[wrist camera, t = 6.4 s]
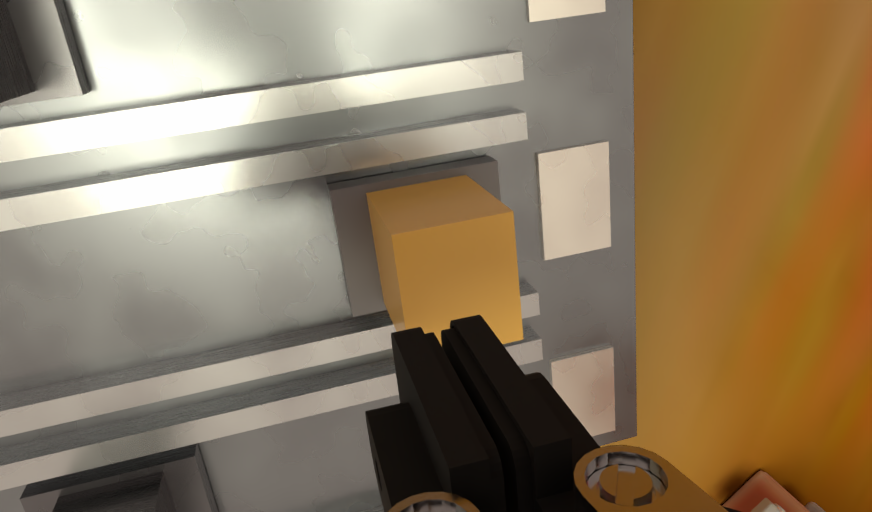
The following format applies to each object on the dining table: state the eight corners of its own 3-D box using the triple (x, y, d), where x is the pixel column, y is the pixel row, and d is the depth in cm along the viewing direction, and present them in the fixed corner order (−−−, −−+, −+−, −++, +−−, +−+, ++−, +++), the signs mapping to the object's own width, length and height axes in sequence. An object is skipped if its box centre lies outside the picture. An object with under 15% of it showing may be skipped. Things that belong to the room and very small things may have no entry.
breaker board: (-446, -84, 15) (-944, -153, 9) (596, -171, 20) (751, -257, 14) (-71, 605, 23) (-195, 826, 17) (612, 423, 28) (715, 543, 22)
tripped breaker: (327, 184, 19) (347, 233, 15) (489, 155, 20) (551, 193, 16) (349, 306, 21) (373, 383, 17) (499, 274, 22) (559, 339, 17)
